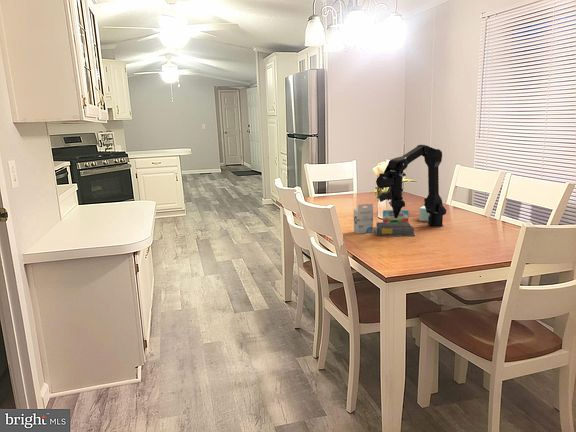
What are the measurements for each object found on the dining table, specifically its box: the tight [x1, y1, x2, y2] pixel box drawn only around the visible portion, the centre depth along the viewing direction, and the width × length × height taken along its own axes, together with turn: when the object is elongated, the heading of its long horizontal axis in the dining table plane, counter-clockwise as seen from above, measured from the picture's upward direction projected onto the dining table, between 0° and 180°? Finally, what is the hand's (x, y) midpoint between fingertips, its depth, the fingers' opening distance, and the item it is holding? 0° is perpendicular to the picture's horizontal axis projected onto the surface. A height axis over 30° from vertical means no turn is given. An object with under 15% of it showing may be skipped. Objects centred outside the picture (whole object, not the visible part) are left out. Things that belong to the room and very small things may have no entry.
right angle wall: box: [418, 205, 429, 222], centre depth 242 cm, size 12×12×8 cm
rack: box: [373, 221, 416, 237], centre depth 219 cm, size 18×15×4 cm
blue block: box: [382, 209, 409, 223], centre depth 213 cm, size 12×2×6 cm, turn 84°
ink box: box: [353, 203, 374, 235], centre depth 219 cm, size 9×5×15 cm, turn 105°
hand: (395, 217), depth 213 cm, fingers closed on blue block
